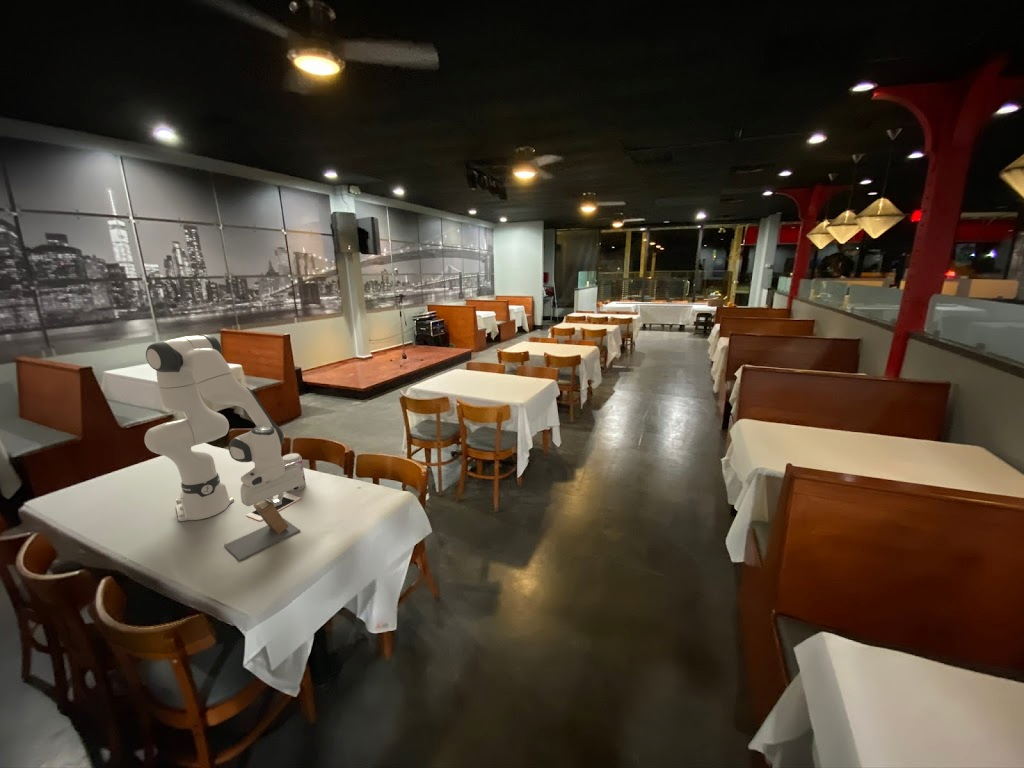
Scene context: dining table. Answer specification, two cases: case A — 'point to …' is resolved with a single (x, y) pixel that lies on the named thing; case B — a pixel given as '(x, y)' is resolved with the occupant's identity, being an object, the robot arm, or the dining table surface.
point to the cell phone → (286, 502)
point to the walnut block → (271, 516)
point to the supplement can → (296, 458)
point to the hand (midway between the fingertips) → (276, 505)
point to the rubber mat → (258, 541)
